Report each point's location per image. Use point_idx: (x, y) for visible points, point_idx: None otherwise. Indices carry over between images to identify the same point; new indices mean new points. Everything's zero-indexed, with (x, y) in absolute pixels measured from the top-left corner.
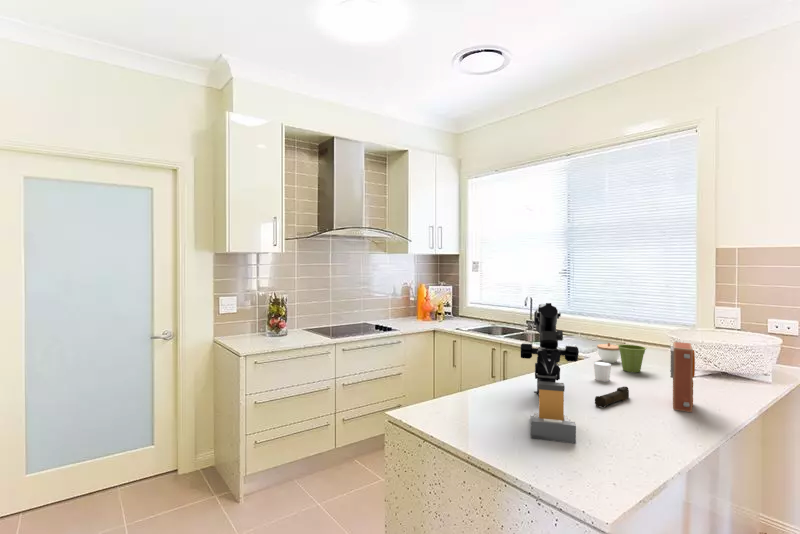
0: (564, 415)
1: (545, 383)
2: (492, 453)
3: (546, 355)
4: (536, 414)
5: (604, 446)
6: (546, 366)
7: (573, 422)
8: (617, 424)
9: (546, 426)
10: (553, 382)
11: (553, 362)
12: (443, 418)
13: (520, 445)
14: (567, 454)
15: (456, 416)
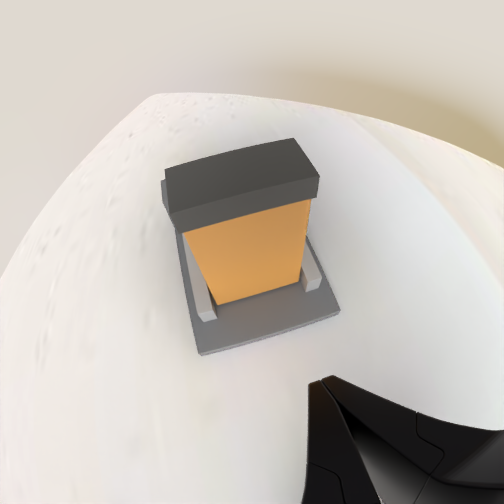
0: (208, 308)
1: (267, 158)
2: (309, 117)
3: (477, 475)
4: (305, 262)
5: (115, 233)
6: (380, 397)
7: (166, 195)
8: (73, 406)
9: None
10: (229, 191)
11: (312, 475)
12: (473, 193)
13: None
14: None
15: (471, 214)
